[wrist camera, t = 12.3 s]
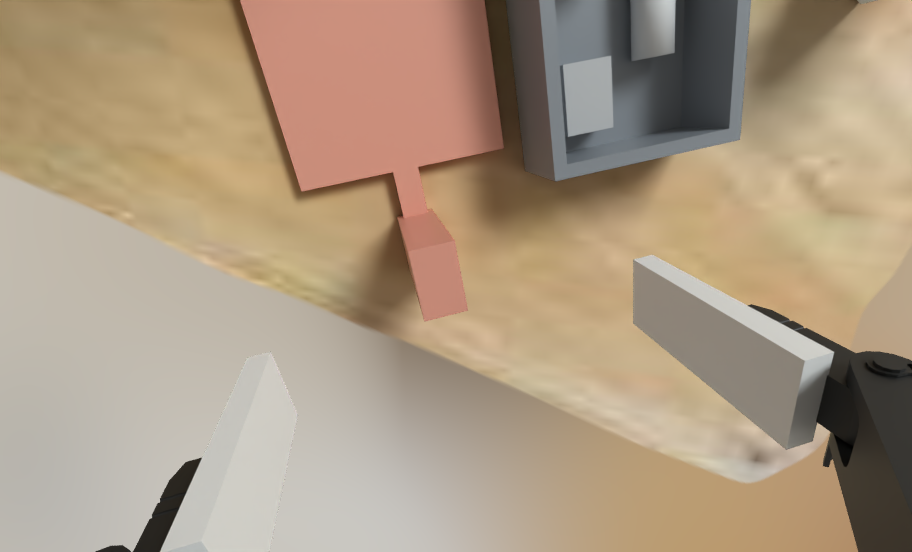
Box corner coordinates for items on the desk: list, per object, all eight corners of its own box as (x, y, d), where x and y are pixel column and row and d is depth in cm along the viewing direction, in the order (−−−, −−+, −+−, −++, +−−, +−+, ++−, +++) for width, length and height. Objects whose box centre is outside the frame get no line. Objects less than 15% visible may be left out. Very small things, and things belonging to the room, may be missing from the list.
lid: (172, -221, 19) (52, -429, 12) (447, -247, 21) (491, -447, 13) (335, 289, 29) (324, 347, 22) (513, 246, 31) (560, 286, 23)
